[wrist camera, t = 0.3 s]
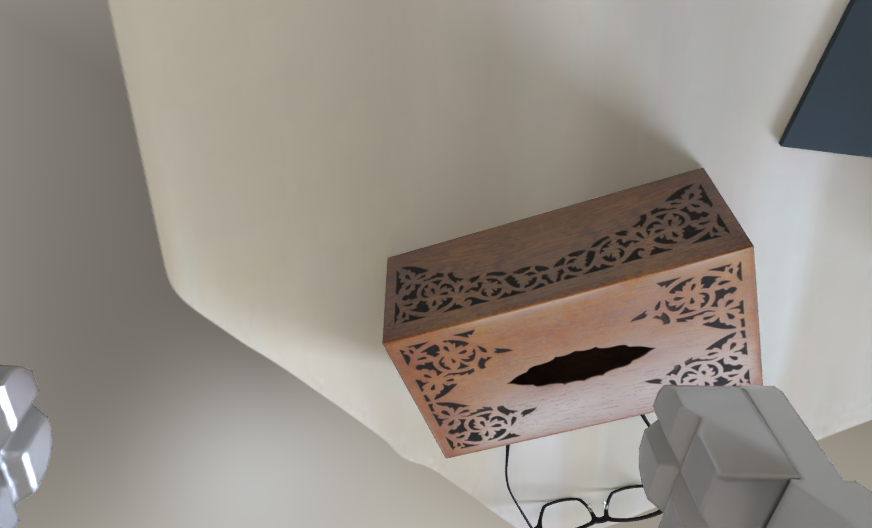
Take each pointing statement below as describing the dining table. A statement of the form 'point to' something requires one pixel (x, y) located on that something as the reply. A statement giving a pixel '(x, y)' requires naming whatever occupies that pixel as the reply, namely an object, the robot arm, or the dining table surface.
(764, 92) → the dining table surface
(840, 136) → the mat
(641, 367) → the tissue box cover
